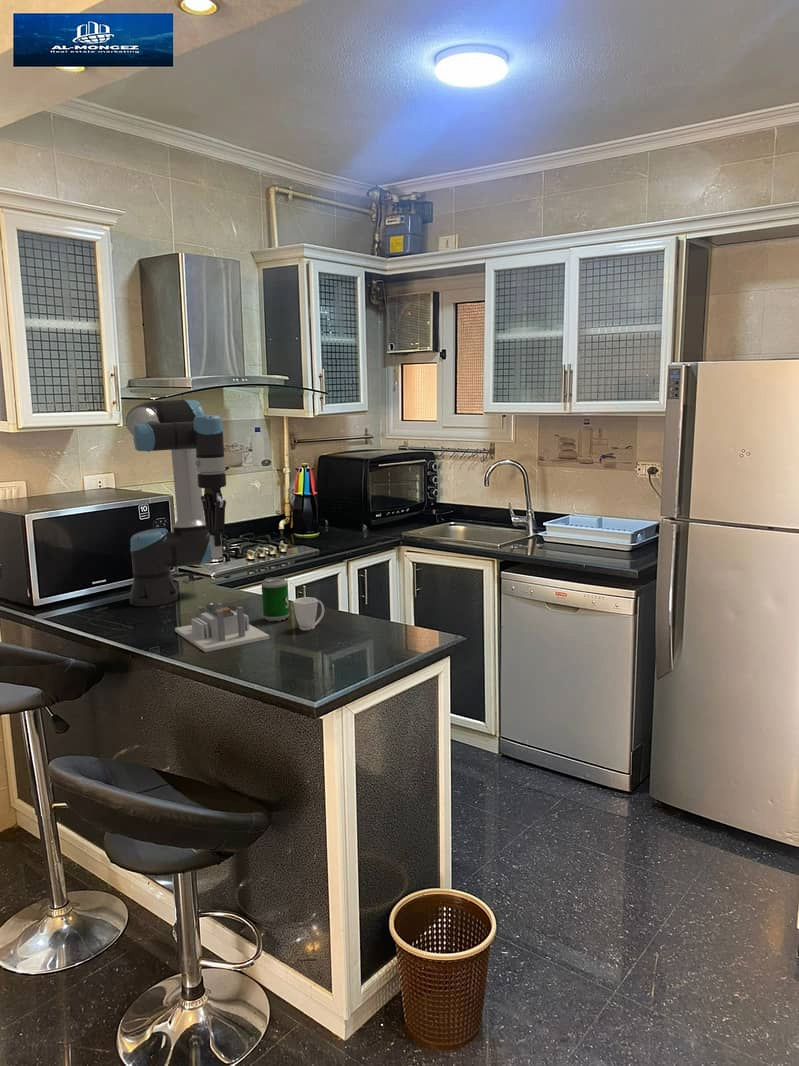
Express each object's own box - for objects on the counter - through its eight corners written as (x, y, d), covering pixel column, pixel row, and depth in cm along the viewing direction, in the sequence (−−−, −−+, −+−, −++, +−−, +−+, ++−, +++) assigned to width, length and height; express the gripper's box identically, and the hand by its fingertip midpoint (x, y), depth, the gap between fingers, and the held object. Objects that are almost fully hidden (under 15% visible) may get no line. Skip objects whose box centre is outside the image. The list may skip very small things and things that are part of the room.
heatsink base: (175, 631, 222) (172, 600, 220) (235, 620, 232) (233, 590, 230) (205, 652, 202) (202, 618, 201) (269, 638, 212) (267, 606, 210)
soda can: (284, 622, 227) (282, 582, 225) (259, 622, 228) (257, 582, 226) (293, 615, 234) (290, 576, 232) (269, 615, 236) (266, 576, 234)
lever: (204, 608, 221) (204, 602, 221) (214, 606, 223) (214, 600, 223) (223, 618, 210) (222, 612, 209) (233, 616, 211) (233, 610, 211)
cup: (289, 628, 221) (287, 600, 219) (316, 620, 228) (314, 593, 227) (305, 633, 216) (303, 604, 215) (332, 625, 223) (331, 597, 222)
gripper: (189, 471, 217) (196, 555, 222) (206, 475, 207) (212, 563, 211) (216, 469, 221) (221, 551, 226) (233, 473, 211) (238, 559, 215)
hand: (217, 557), depth 219 cm, fingers closed
